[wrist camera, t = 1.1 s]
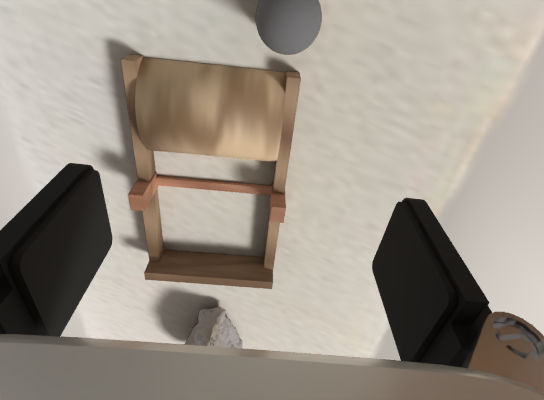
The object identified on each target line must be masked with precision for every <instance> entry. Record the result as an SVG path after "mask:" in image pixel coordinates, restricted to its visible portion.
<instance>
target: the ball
mask: <svg viewBox="0 0 544 400" xmlns="http://www.w3.org/2000/svg"><path fill="white" fill-rule="evenodd" d="M321 21H322V12H321V7H320V3H319V1H318V0H260V1H259V4H258V7H257V11H256V25H257V30H258V33H259V35H260V37H261V39H262V41H263V42H264V43H265V44H266V46H268V47H269V48H270V49H271V50H273V51H275V52H277V53H280V54H285V55H291V54H296V53H299V52H301V51H303V50H305V49H306V48H308V47H309V46H310V45H311V44H312V43H313V41H314V40H315V38H316V37H317V35H318V33H319V30H320V27H321Z"/></svg>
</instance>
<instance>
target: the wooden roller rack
mask: <svg viewBox="0 0 544 400" xmlns="http://www.w3.org/2000/svg"><path fill="white" fill-rule="evenodd" d="M121 63H122V70H123V77H124V84H125V92H126V99H127V106H128V113H129V120H130V127H131V134H132V141H133V148H134V155H135V162H136V169H137V176H138V180H137V182H136V183H135V185H134V186H133V188H132V189H131V191H130V192H129V194H128V197H129V203H130V209H131V210H137V211H143V218H144V225H145V232H146V239H147V247H148V254H149V263H148V265H147V268H146V270H145V272H144V274H145V280H158V281H172V282H185V283H199V284H212V285H226V286H240V287H253V288H267V289H272V284H273V266H274V259H275V252H276V245H277V238H278V232H279V225H280V223H284V216H285V210H286V203H285V184H286V177H287V170H288V163H289V156H290V149H291V142H292V135H293V129H294V122H295V115H296V108H297V101H298V94H299V87H300V81H301V77H300V73H299V72H291V71H287V72H278V71H268V70H259V69H250V68H240V67H231V66H222V65H212V64H203V63H194V62H184V61H175V60H166V59H157V58H147V57H143V56H142V55H133V54H129V55H128V56H126V57H124V58H122V59H121ZM153 150H154V151H165V152H176V153H186V154H197V155H208V156H218V157H229V158H240V159H250V160H261V161H272V162H276V163H275V171H274V179H273V182H272V186H266V185H255V184H244V183H233V182H222V181H211V180H200V179H189V178H177V177H166V176H157V172H156V171H155V162H154V153H153ZM158 185H161V186H172V187H183V188H195V189H206V190H217V191H229V192H240V193H251V194H262V195H270V212H269V220H268V229H267V237H266V245H265V253H264V258H263V257H251V256H238V255H225V254H213V253H200V252H187V251H175V250H164V247H163V237H162V228H161V219H160V209H159V200H158V190H157V188H158Z"/></svg>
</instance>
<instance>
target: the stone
mask: <svg viewBox="0 0 544 400" xmlns="http://www.w3.org/2000/svg"><path fill="white" fill-rule="evenodd" d="M225 315H226V310H225V309H223V308H221V307H215V308H213V309H202V310H200V311H199V315H198V323H197V325H196V326H195V327H193V329H192V331H191V334H190V335H189V337H188V339H187V341H186V343H185V344H184V345H198V346H212V347H226V348H240V349H242V340H241V339H240V337H239V335H238V334H237V331H236V328H235V327H234V326H233V325H232V323H231V321H230V320H229V319H228V318H226V316H225Z"/></svg>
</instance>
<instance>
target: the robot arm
mask: <svg viewBox="0 0 544 400" xmlns="http://www.w3.org/2000/svg"><path fill="white" fill-rule="evenodd" d="M111 245H112V233H111V228H110V223H109V218H108V214H107V209H106V204H105V199H104V194H103V189H102V184H101V179H100V175H99V172H98V171H96V170H94V169H93V167H92V166H91V165H84V164H75V163H69V164H68V165H66V166H65V167H64V168H63V169H62V170H61V171H60V172H59V173H58V174H57V175H56V176H55V177H54V178H53V179H52V180H51V181H50V182H49V183H48V184H47V185H46V186H45V187H44V188H43V189H42V190H41V191H40V192H39V193H38V194H37V195H36V196H35V197H34V198H33V199H32V200H31V201H30V202H29V203H28V204H27V205H26V206H25V207H24V208H23V209H22V210H21V211H20V212H19V213H18V214H17V215H16V216H15V217H14V218H13V219H12V220H11V221H9V222H8V223H7V225H5V226H4V227H3V228H2V230H0V400H544V336H543V335H542V334H541V333H540V332H539V331H538V330H537V329H536V328H535V327H534V326H533V325H531V324H530V323H528V322H527V321H525V320H524V319H522V318H520V317H518V316H515V315H513V314H510V313H506V312H494V313H492V311H491V310H490V308H489V307H488V304H489V301H488V300H487V298H486V297H485V295H484V293H483V292H482V290H481V289H480V287H479V285H478V284H477V282H476V281H475V279H474V278H473V276H472V274H471V273H470V271H469V269H468V268H467V266H466V265H465V263H464V262H463V260H462V258H461V257H460V255H459V254H458V252H457V251H456V249H455V247H454V246H453V244H452V242H451V241H450V239H449V238H448V236H447V235H446V233H445V232H444V230H443V228H442V227H441V225H440V223H439V222H438V220H437V219H436V217H435V215H434V214H433V212H432V211H431V209H430V207H429V206H428V204H427V203H426V201H425V200H421V199H412V198H405V199H404V200H403V201H402V202H398V203H397V204H396V206H395V209H394V211H393V214H392V216H391V218H390V221H389V223H388V226H387V228H386V231H385V233H384V235H383V238H382V240H381V243H380V245H379V248H378V250H377V252H376V255H375V257H374V260H373V264H372V270H373V274H374V277H375V280H376V283H377V286H378V289H379V293H380V296H381V299H382V302H383V305H384V308H385V311H386V315H387V318H388V321H389V324H390V327H391V330H392V333H393V337H394V339H395V343H396V346H397V349H398V352H399V356H400V359H401V361H396V360H385V359H373V358H360V357H347V356H334V355H321V354H308V353H295V352H281V351H267V350H254V349H240V348H226V347H212V346H198V345H184V344H169V343H154V342H139V341H124V340H109V339H94V338H78V337H60V336H61V334H62V332H63V330H64V329H65V327H66V325H67V323H68V322H69V320H70V318H71V316H72V314H73V313H74V311H75V309H76V307H77V306H78V304H79V302H80V300H81V299H82V297H83V295H84V293H85V292H86V290H87V288H88V286H89V285H90V283H91V281H92V279H93V278H94V276H95V274H96V272H97V271H98V269H99V267H100V265H101V264H102V262H103V260H104V258H105V257H106V255H107V253H108V251H109V250H110V248H111Z"/></svg>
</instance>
